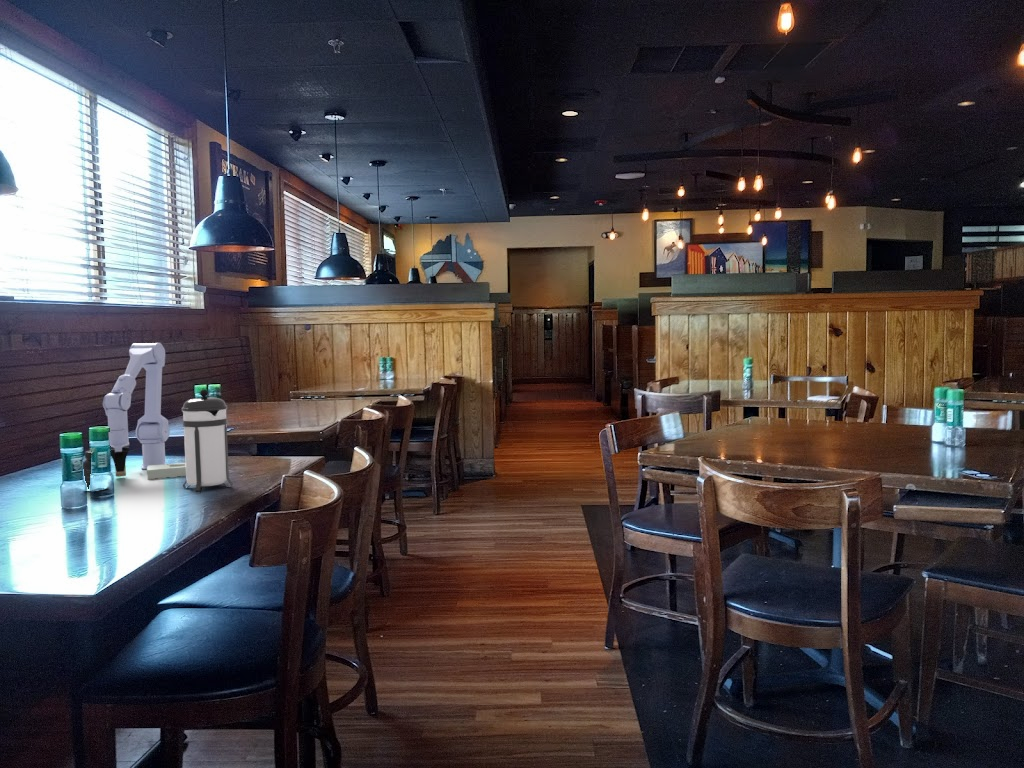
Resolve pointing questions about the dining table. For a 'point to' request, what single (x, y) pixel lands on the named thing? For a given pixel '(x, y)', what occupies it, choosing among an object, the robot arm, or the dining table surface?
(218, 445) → the coffee press
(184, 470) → the bore block
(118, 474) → the peg
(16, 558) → the dining table surface
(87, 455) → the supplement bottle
